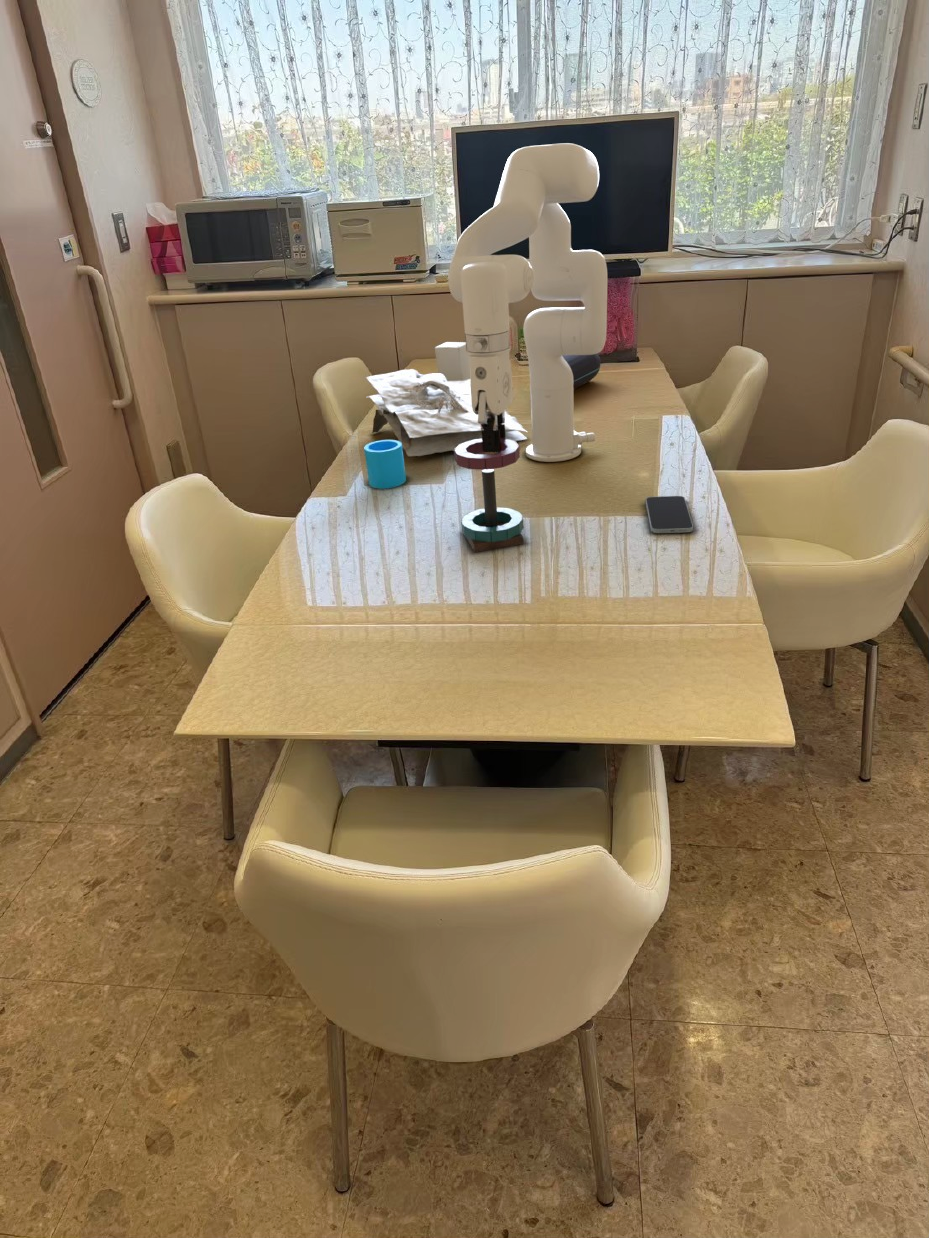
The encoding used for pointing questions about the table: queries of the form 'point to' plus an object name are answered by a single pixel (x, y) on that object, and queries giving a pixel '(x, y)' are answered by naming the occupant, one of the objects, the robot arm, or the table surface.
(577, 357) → the portable speaker
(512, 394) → the robot arm
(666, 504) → the smartphone
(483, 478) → the peg stand
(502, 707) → the table surface
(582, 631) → the table surface
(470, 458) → the plum ring
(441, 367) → the cosmetic box
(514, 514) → the teal ring
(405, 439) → the plastic wrap
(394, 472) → the mug
